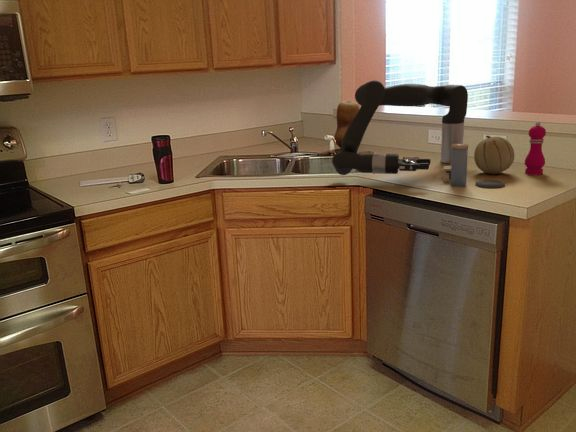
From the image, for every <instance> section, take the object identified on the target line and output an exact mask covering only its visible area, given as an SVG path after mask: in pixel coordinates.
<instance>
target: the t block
mask: <svg viewBox="0 0 576 432" xmlns="http://www.w3.org/2000/svg"><path fill="white" fill-rule="evenodd" d="M442 173H443V175H442V177H443V178H442V181H443V182H446V183H447V182H449V183H450V182H451V165H443V172H442Z"/></svg>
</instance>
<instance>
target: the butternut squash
mask: <svg viewBox="0 0 576 432" xmlns="http://www.w3.org/2000/svg"><path fill="white" fill-rule="evenodd" d="M360 108H361V106H360V104H358V103H357V101H351V100H343V101H341V102H339V104H338V105H337V109H336V130H335V132H334V133H335V134H334V136H333V137H334V141H335V140H336V142H335V144H336V145H337V146H338V147H339V148H340V149H341V143H342V140H343V137H344V135H345V133H346V130H347V128H348V126H349V125H350V123H351V122H352V120H353V119H354V117H355V116H356V115H357V113H358V111H359V110H360Z"/></svg>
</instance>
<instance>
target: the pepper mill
mask: <svg viewBox="0 0 576 432" xmlns="http://www.w3.org/2000/svg"><path fill="white" fill-rule="evenodd" d="M546 135H547V130H546V128H545V127H544V126H542V125H541V121H536V122H535V125H533V126H532V127H530V129H529V130H528V136H529V137H530V138H529V143H530V149H529V151H528V153H527V155H526V156H525V159H524V165H525V166H526V168H525V170H524V171H525V172H524V174H525V175H528V176H541V175H543V174H544V169H543V167H544V166H545V165H546V159H545V156H544V153H543V151H542V147H543V144H544V139H545V137H546Z"/></svg>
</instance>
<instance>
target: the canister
mask: <svg viewBox="0 0 576 432" xmlns="http://www.w3.org/2000/svg"><path fill="white" fill-rule="evenodd" d="M451 148H452V156H451V163H450V164H451V165H450V166H451V182H449V183H450V184H449V185H450V186H451V187H457V188H461V187H466V186H467V175H468V153H469V144H468V143H463V144H452V145H451Z"/></svg>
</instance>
